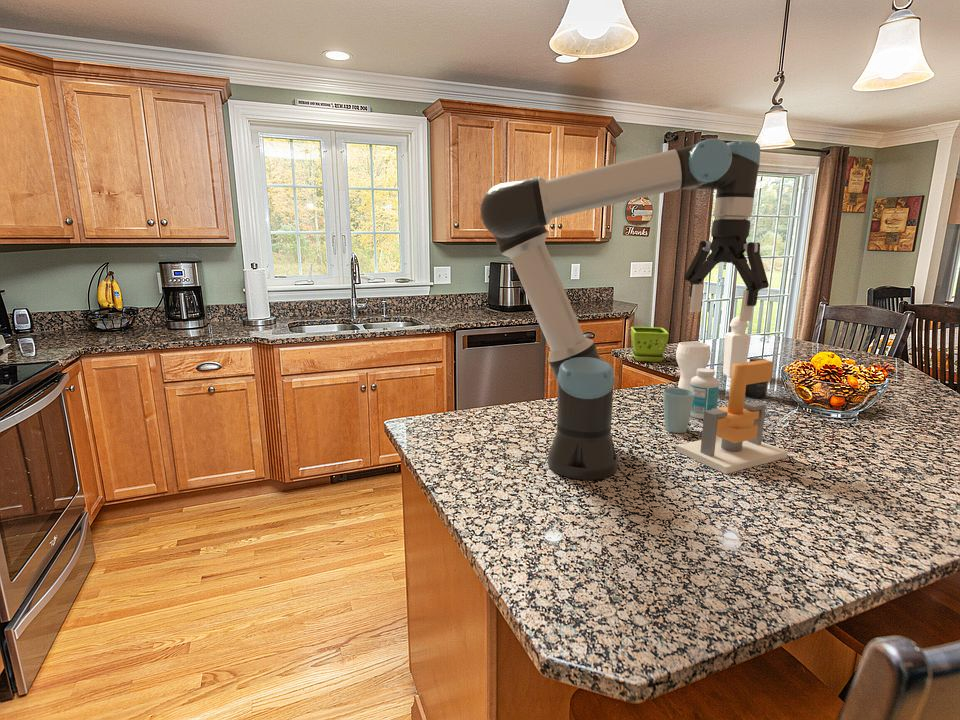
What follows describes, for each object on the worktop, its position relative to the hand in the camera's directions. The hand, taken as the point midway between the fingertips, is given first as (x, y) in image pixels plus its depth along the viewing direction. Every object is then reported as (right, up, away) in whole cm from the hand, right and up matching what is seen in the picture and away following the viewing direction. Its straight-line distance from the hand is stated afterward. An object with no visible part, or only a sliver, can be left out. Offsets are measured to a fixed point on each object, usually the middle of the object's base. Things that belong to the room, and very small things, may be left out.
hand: (718, 316), depth 120 cm
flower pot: (+16, -10, +103) cm, 105 cm away
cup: (-2, -28, +21) cm, 35 cm away
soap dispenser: (+40, -16, +76) cm, 87 cm away
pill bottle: (+9, -26, +31) cm, 42 cm away
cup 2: (+17, -19, +60) cm, 65 cm away
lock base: (+5, -32, +4) cm, 33 cm away
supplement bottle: (+34, -22, +51) cm, 65 cm away
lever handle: (+6, -27, +4) cm, 28 cm away
